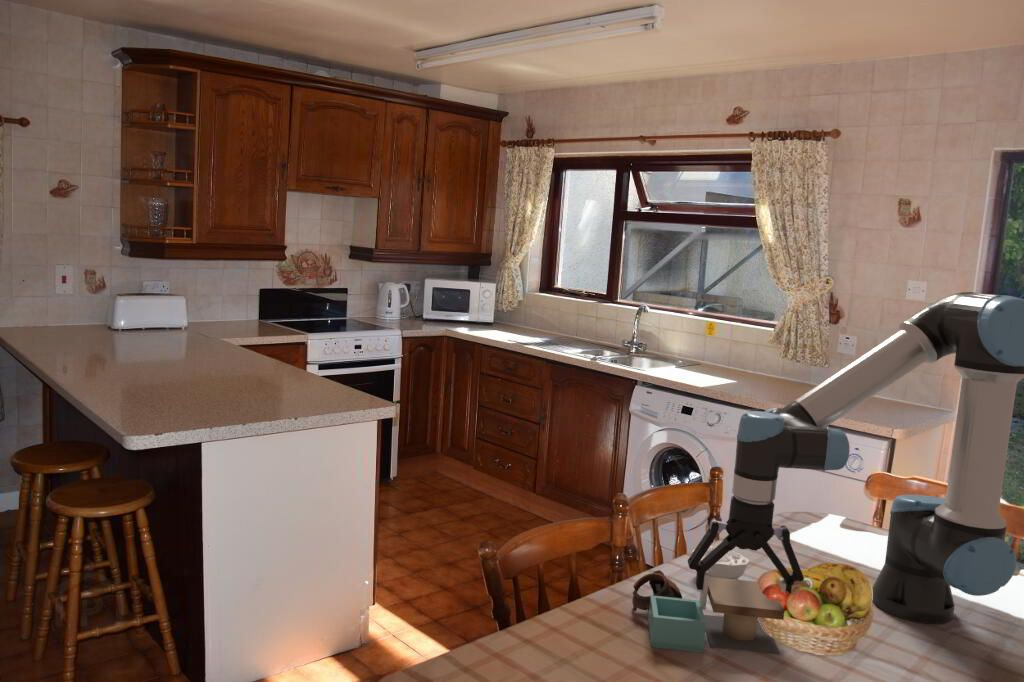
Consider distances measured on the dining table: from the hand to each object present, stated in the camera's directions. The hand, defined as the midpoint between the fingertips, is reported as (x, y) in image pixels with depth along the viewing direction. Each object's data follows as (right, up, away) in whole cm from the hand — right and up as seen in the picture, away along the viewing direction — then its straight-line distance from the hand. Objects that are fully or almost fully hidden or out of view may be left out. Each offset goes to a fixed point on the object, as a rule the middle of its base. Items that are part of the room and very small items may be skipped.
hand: (740, 610), depth 148 cm
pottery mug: (-13, -3, +9) cm, 17 cm away
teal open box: (-12, -4, -2) cm, 13 cm away
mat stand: (0, -5, +1) cm, 5 cm away
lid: (0, +2, 0) cm, 2 cm away
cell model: (+3, -2, +26) cm, 27 cm away
